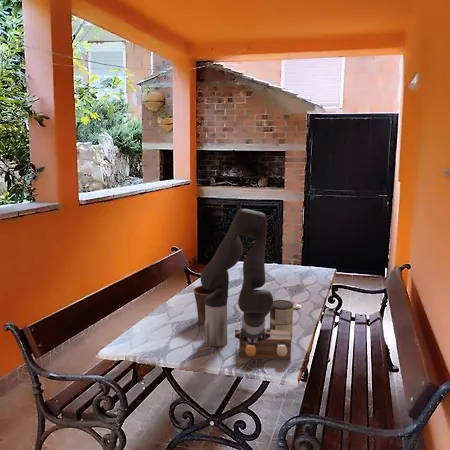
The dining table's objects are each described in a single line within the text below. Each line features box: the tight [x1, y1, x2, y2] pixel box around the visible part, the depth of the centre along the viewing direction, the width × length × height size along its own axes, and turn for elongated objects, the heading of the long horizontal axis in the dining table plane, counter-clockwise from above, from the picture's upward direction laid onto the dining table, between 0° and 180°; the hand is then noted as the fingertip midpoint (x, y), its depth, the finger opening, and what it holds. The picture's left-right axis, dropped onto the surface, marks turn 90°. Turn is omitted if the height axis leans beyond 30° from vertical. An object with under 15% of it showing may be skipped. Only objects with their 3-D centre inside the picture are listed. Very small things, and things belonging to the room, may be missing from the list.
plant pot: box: [192, 285, 216, 326], centre depth 229 cm, size 16×16×16 cm
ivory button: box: [276, 342, 287, 356], centre depth 188 cm, size 6×4×4 cm, turn 0°
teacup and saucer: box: [290, 298, 302, 310], centre depth 252 cm, size 9×8×4 cm
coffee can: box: [269, 299, 294, 337], centre depth 214 cm, size 10×10×14 cm
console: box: [238, 329, 292, 360], centre depth 194 cm, size 10×20×8 cm, turn 90°
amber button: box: [245, 342, 256, 356], centre depth 188 cm, size 6×4×4 cm, turn 0°
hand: (251, 343), depth 175 cm, fingers closed
